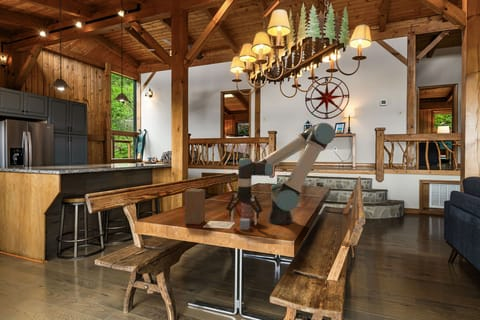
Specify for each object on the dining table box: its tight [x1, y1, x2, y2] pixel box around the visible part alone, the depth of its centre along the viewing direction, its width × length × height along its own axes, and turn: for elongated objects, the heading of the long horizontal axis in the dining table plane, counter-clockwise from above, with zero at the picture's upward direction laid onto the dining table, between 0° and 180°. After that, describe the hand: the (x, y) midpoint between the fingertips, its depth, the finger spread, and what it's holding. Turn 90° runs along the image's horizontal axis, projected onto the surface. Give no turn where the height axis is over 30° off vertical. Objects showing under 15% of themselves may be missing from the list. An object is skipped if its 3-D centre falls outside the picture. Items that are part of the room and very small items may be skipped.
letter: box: [202, 220, 236, 230], centre depth 164 cm, size 16×14×1 cm
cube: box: [239, 217, 251, 231], centre depth 157 cm, size 5×5×5 cm
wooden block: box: [184, 188, 206, 226], centre depth 169 cm, size 10×10×20 cm
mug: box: [234, 198, 256, 223], centre depth 173 cm, size 13×9×14 cm
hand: (243, 223), depth 157 cm, fingers open, 13 cm apart
